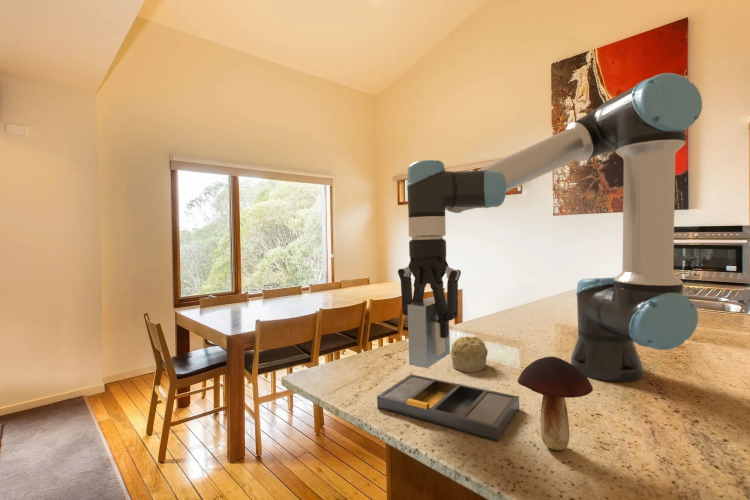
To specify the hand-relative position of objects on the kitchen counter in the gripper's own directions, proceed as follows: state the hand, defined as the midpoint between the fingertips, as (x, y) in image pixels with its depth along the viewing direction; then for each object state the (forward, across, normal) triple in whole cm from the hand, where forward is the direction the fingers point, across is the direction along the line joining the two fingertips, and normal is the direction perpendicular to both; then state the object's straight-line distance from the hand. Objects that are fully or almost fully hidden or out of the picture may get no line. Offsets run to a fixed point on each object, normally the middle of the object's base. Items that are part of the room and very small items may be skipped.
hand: (430, 350), depth 78 cm
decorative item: (+12, +2, -25) cm, 28 cm away
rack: (+11, -3, 0) cm, 12 cm away
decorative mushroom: (+11, -24, +4) cm, 27 cm away
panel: (+2, 0, 0) cm, 2 cm away
